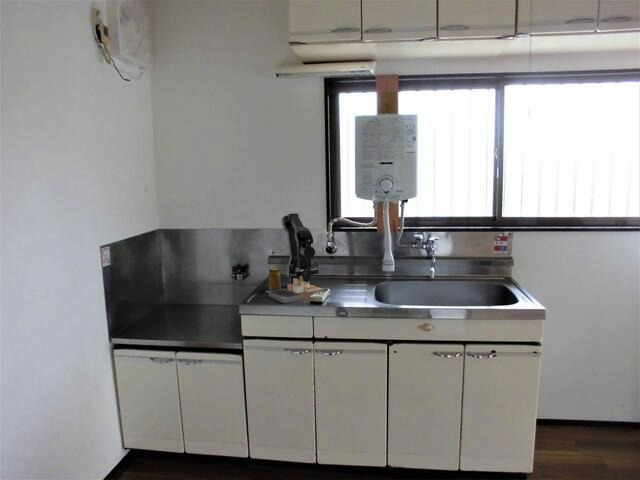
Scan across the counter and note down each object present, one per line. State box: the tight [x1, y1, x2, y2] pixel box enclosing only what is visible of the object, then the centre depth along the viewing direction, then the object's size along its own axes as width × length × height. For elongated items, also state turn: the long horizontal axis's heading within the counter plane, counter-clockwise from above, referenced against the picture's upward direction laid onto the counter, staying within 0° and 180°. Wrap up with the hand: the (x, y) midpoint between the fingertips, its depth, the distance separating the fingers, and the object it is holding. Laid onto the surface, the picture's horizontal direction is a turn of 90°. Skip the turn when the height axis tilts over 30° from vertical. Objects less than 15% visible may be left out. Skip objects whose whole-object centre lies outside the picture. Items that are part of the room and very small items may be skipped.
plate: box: [284, 283, 325, 301], centre depth 228 cm, size 14×14×3 cm
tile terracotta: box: [287, 283, 298, 291], centre depth 227 cm, size 4×4×2 cm
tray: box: [268, 288, 302, 304], centre depth 222 cm, size 16×9×2 cm, turn 33°
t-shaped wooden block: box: [293, 275, 310, 291], centre depth 227 cm, size 12×5×6 cm, turn 34°
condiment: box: [265, 267, 282, 294], centre depth 234 cm, size 7×8×12 cm
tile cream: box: [293, 285, 304, 293], centre depth 223 cm, size 4×4×2 cm
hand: (304, 285), depth 228 cm, fingers closed on t-shaped wooden block, 3 cm apart
